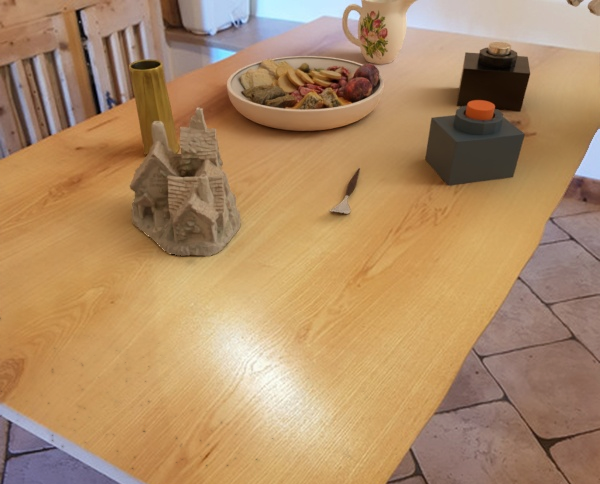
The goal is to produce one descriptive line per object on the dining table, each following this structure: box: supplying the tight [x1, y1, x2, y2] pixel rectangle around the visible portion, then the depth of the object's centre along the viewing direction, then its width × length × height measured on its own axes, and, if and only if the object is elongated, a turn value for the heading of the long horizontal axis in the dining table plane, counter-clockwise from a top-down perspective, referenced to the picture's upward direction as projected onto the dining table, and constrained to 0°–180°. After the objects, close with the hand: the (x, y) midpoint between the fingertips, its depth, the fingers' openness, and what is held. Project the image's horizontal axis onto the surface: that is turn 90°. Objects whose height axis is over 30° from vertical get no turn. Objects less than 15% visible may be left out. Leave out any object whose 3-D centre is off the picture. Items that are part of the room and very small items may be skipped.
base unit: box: [456, 46, 531, 112], centre depth 107 cm, size 12×10×9 cm
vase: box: [128, 58, 180, 156], centre depth 89 cm, size 6×6×14 cm
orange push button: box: [465, 100, 495, 120], centre depth 82 cm, size 4×4×2 cm
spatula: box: [328, 167, 361, 215], centre depth 81 cm, size 3×16×2 cm, turn 164°
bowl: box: [226, 55, 385, 132], centre depth 106 cm, size 30×30×8 cm
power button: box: [487, 41, 512, 57], centre depth 104 cm, size 4×4×2 cm
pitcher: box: [341, 0, 418, 65], centre depth 125 cm, size 11×18×14 cm, turn 61°
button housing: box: [424, 106, 526, 187], centre depth 85 cm, size 11×9×9 cm
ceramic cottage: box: [129, 106, 242, 257], centre depth 72 cm, size 16×16×15 cm
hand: (580, 6), depth 75 cm, fingers open, 4 cm apart
